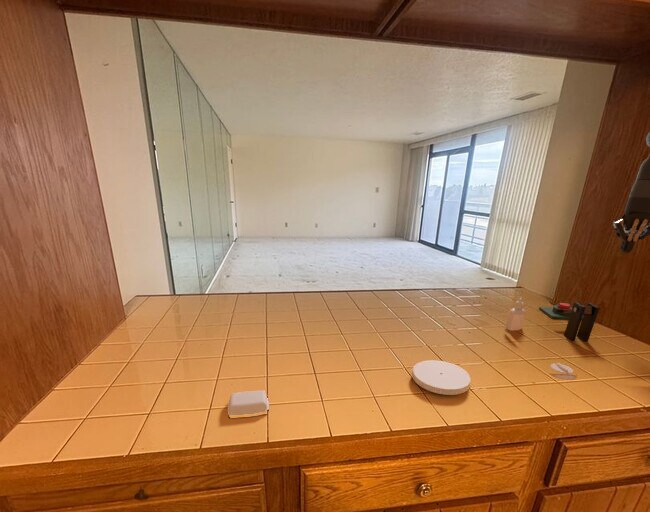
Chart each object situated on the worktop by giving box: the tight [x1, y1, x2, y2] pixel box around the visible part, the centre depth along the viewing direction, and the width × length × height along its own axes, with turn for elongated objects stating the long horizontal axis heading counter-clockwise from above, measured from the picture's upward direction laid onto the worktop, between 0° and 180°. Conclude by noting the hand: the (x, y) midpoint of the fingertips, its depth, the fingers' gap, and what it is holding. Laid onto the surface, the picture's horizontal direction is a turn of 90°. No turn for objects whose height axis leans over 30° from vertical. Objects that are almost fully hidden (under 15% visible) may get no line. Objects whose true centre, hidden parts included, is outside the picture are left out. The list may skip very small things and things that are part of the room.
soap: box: [227, 389, 270, 416], centre depth 76 cm, size 9×7×3 cm
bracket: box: [563, 301, 600, 343], centre depth 109 cm, size 10×8×13 cm
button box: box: [538, 304, 583, 321], centre depth 131 cm, size 12×10×4 cm
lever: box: [555, 305, 592, 315], centre depth 113 cm, size 13×5×2 cm, turn 175°
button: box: [558, 302, 571, 309], centre depth 130 cm, size 4×4×2 cm
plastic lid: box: [411, 359, 472, 396], centre depth 88 cm, size 14×14×2 cm
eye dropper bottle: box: [504, 297, 527, 334], centre depth 116 cm, size 4×6×12 cm
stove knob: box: [549, 362, 578, 381], centre depth 93 cm, size 7×7×2 cm
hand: (625, 252), depth 112 cm, fingers closed
